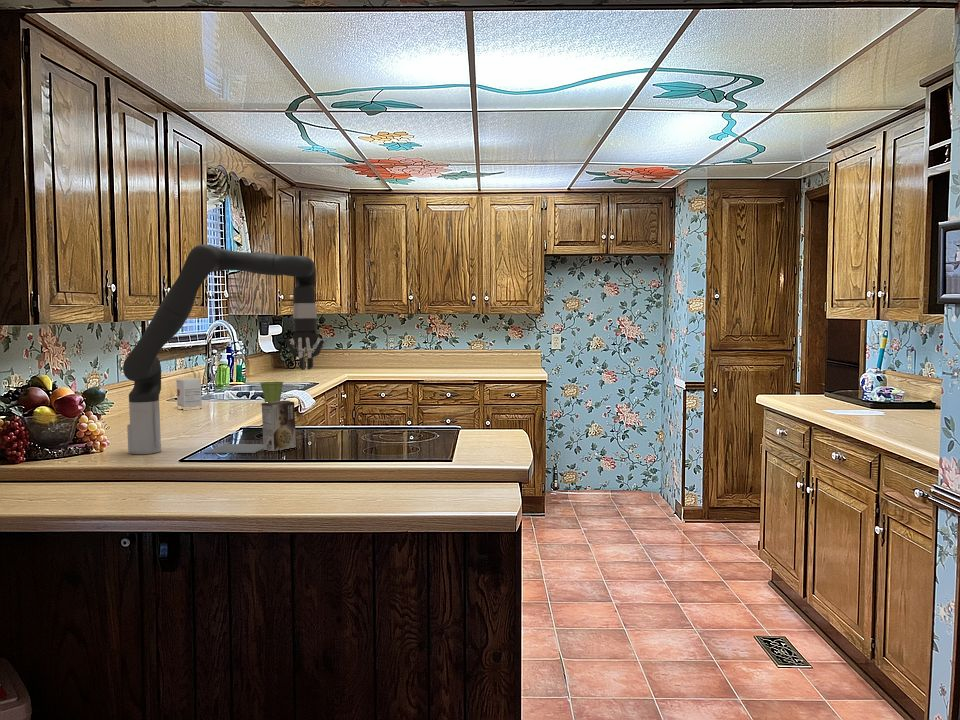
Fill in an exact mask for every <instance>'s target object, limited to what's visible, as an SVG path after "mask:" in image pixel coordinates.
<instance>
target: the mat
mask: <svg viewBox="0 0 960 720" xmlns="http://www.w3.org/2000/svg"><path fill="white" fill-rule="evenodd" d="M262 449H263V443H249V444H248V443H224V444H222V445H219V446H217V447H215V448H212V449H210V450H207V451H205V452H204V453H256V452H258V451H260V452H261V450H262ZM262 451H263V450H262ZM258 453H259V452H258ZM256 454H257V453H256Z"/></svg>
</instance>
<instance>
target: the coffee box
mask: <svg viewBox="0 0 960 720" xmlns="http://www.w3.org/2000/svg"><path fill="white" fill-rule="evenodd" d="M295 414H296V412H295V401H291V400H280V401H275V402H268V403H265V402H262V403H261V418H262V419H261V420H262V444H263V450H262V451H264V450H268V451H278V450H283V449H289V448H294V447H296V448H297V438H296V437H297V433H296V432H297V431H296V415H295ZM268 451H267V452H268Z"/></svg>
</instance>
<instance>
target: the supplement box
mask: <svg viewBox="0 0 960 720" xmlns="http://www.w3.org/2000/svg"><path fill="white" fill-rule="evenodd" d="M175 381H176V402H177V403H176V404H177V405H178V406H181V407H196V406H202V407H203V399H202V397H203V396H202V379H201V378H196V377H188V378H177V379H176V380H175ZM178 406H177V407H178Z"/></svg>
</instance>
